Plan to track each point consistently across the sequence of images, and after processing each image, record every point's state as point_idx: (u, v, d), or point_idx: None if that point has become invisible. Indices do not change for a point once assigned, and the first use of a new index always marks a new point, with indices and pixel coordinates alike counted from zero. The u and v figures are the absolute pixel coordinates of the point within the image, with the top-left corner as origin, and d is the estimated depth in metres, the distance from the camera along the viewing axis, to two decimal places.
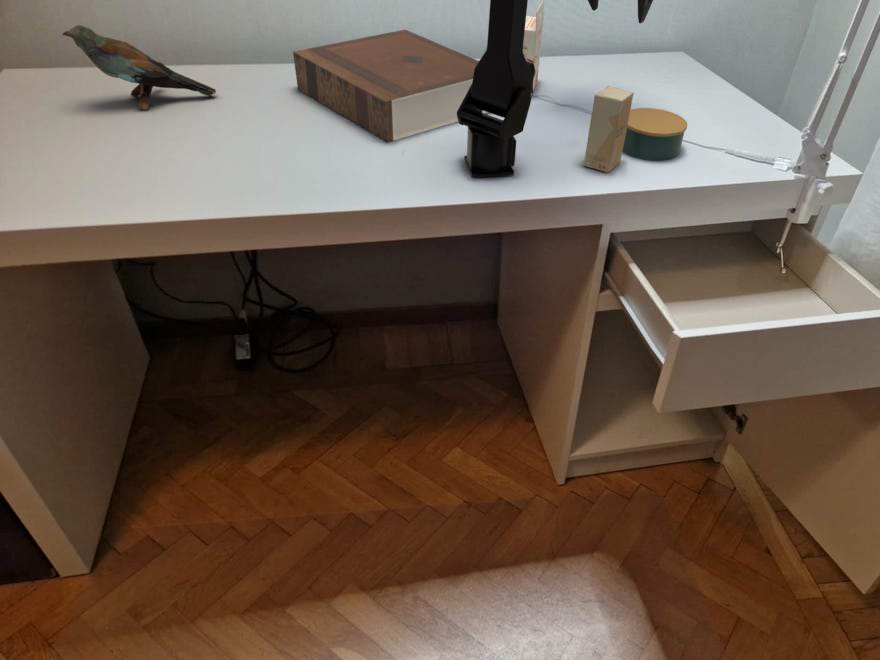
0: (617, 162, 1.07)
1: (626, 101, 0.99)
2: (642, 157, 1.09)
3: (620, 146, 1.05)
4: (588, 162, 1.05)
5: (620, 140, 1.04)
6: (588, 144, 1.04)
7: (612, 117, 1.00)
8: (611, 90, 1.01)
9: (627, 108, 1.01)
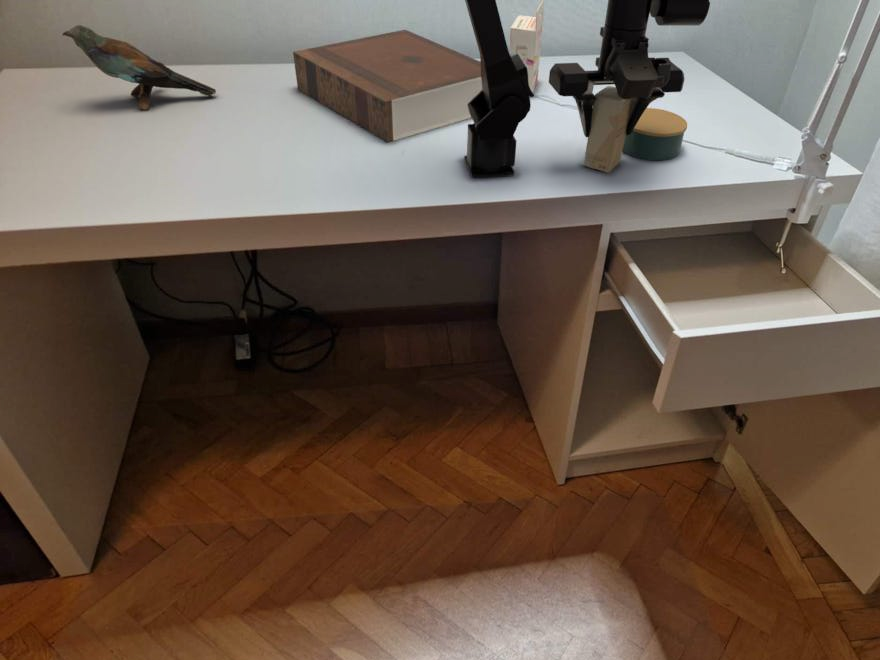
0: (617, 162, 1.07)
1: (626, 101, 0.99)
2: (642, 157, 1.09)
3: (620, 146, 1.05)
4: (588, 162, 1.05)
5: (620, 140, 1.04)
6: (588, 144, 1.04)
7: (612, 117, 1.00)
8: (611, 90, 1.01)
9: (627, 108, 1.01)
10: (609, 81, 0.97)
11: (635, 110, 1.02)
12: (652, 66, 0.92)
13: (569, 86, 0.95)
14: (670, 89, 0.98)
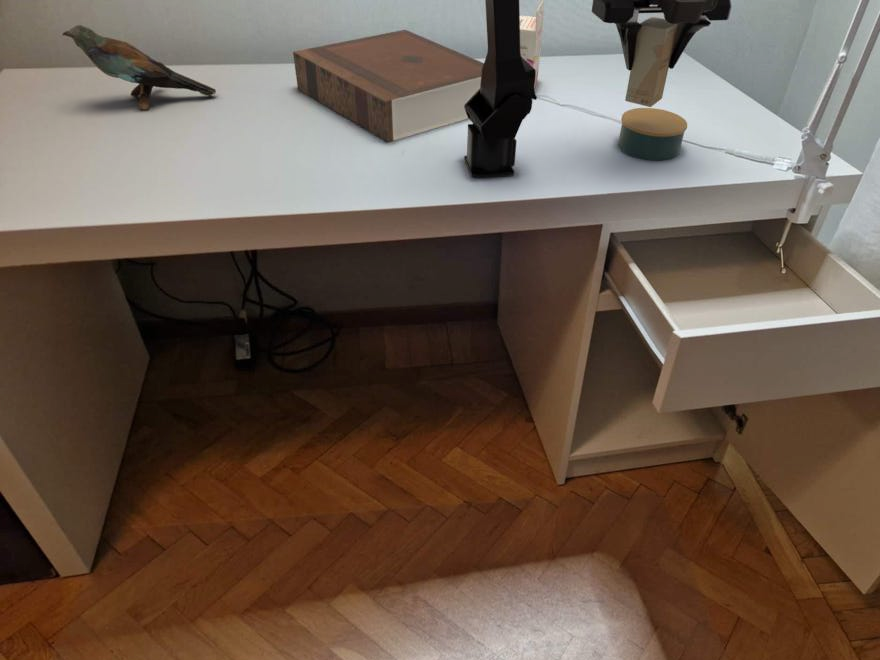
0: (659, 97, 1.04)
1: (670, 30, 0.97)
2: (642, 157, 1.09)
3: (663, 80, 1.03)
4: (630, 97, 1.03)
5: (663, 73, 1.02)
6: (630, 78, 1.02)
7: (657, 47, 0.97)
8: (655, 20, 0.98)
9: (671, 39, 0.99)
10: (654, 8, 0.95)
11: (679, 41, 0.99)
12: None
13: (614, 12, 0.93)
14: (717, 17, 0.96)
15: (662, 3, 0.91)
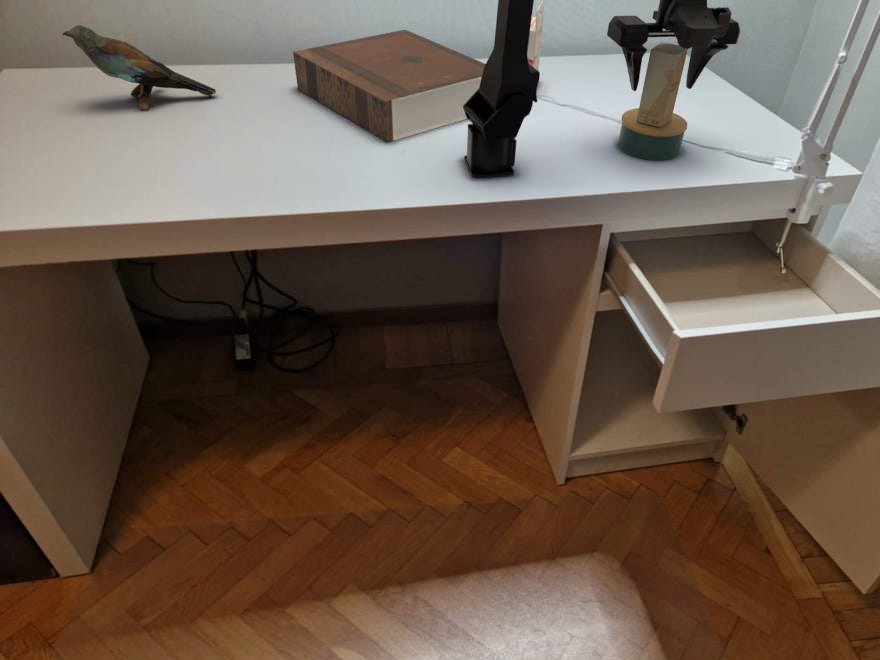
0: (669, 118, 1.09)
1: (681, 55, 1.02)
2: (642, 157, 1.09)
3: (672, 102, 1.07)
4: (641, 118, 1.08)
5: (673, 96, 1.07)
6: (642, 100, 1.06)
7: (668, 72, 1.02)
8: (666, 45, 1.03)
9: (681, 63, 1.04)
10: (659, 33, 0.99)
11: (698, 63, 1.04)
12: (712, 16, 0.95)
13: (629, 37, 0.97)
14: (726, 41, 1.01)
15: (675, 29, 0.96)
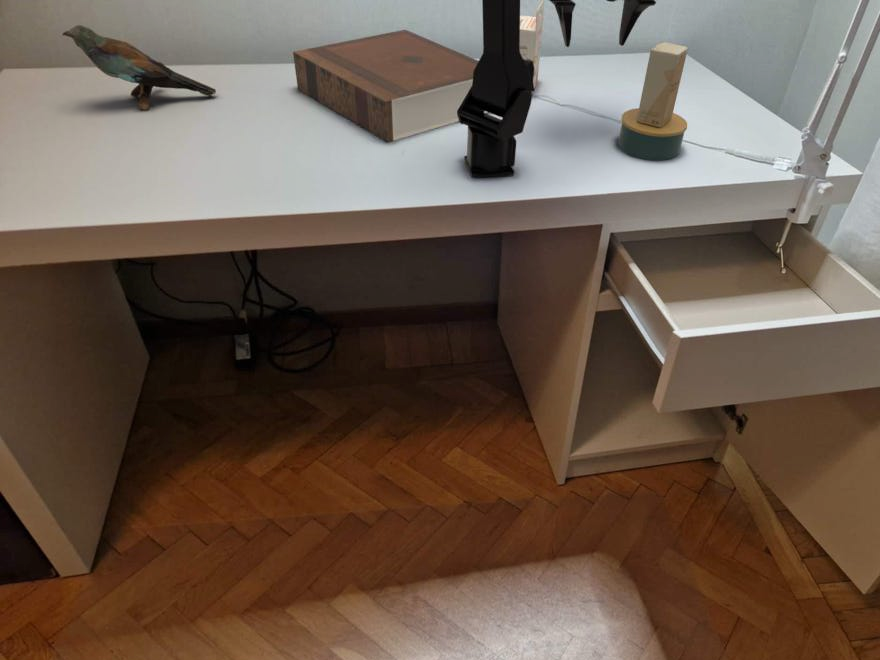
0: (669, 118, 1.09)
1: (681, 55, 1.02)
2: (642, 157, 1.09)
3: (672, 102, 1.07)
4: (641, 118, 1.08)
5: (673, 96, 1.07)
6: (642, 100, 1.06)
7: (668, 72, 1.02)
8: (666, 45, 1.03)
9: (681, 63, 1.04)
10: None
11: (628, 19, 1.08)
12: None
13: None
14: None
15: None
